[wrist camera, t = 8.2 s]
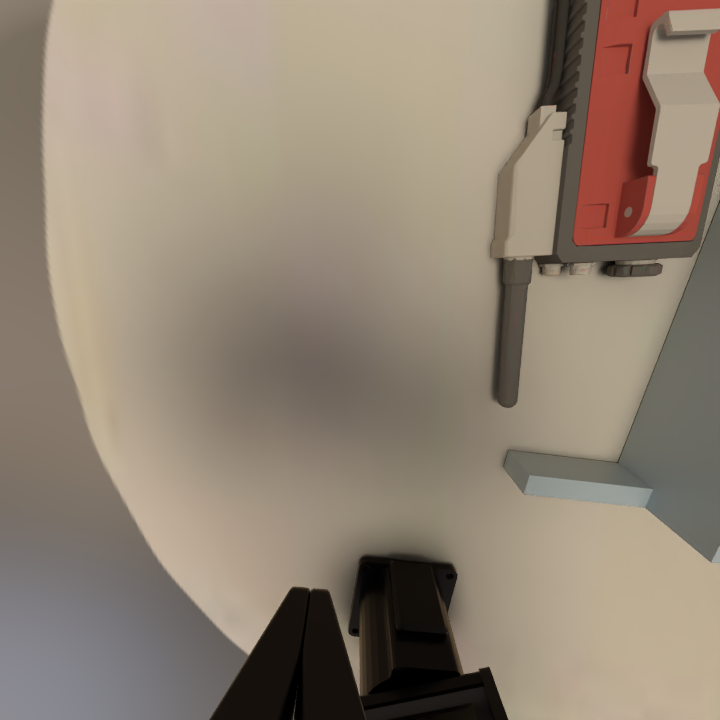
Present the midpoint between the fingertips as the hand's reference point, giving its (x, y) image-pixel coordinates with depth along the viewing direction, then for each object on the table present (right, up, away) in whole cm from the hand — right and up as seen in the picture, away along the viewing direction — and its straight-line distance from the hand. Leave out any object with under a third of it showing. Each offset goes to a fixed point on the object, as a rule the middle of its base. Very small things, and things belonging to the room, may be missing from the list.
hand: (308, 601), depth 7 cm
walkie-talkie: (+12, +13, +10) cm, 20 cm away
